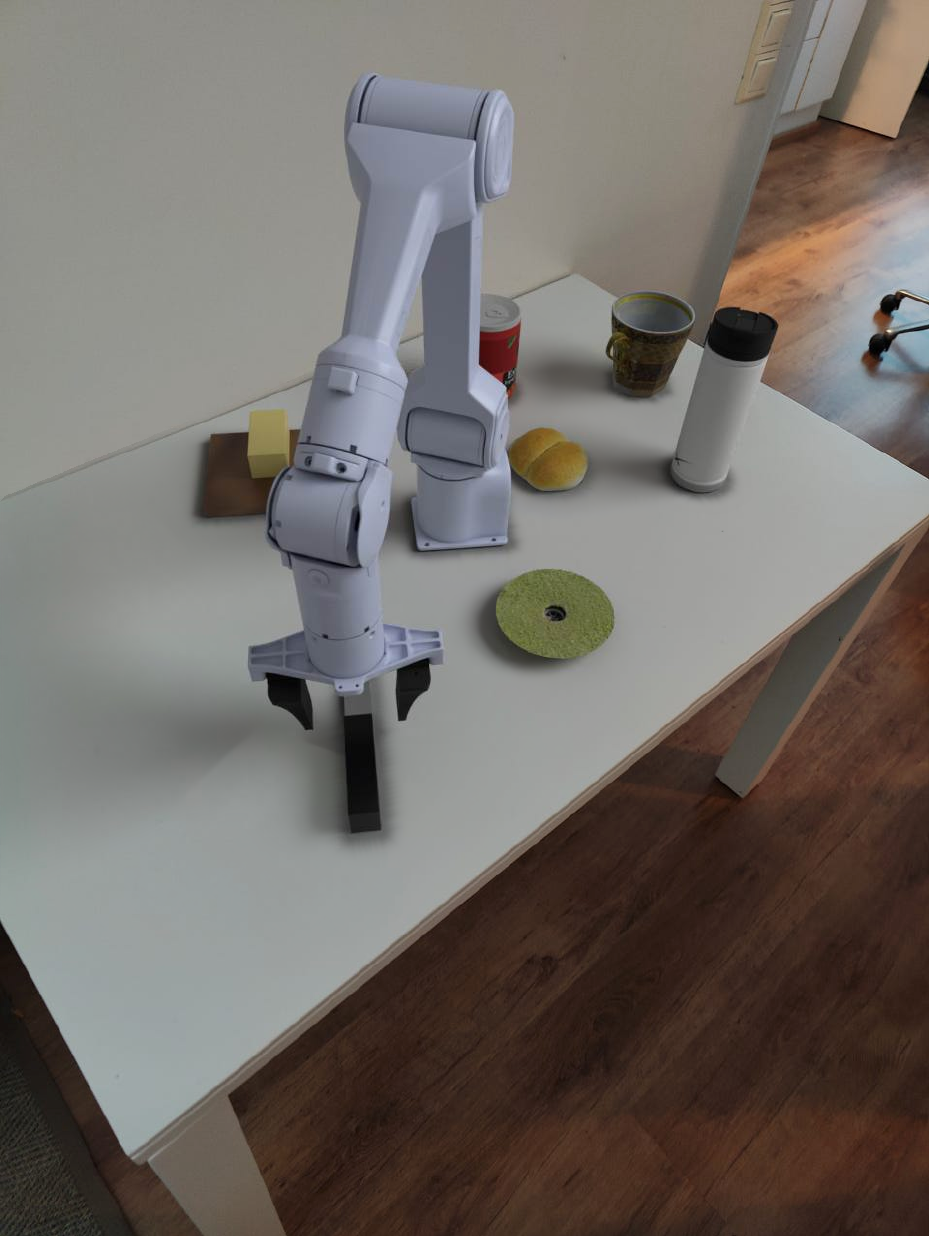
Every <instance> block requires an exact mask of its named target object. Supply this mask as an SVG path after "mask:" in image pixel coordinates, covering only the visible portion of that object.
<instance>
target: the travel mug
mask: <svg viewBox="0 0 929 1236" xmlns="http://www.w3.org/2000/svg"><path fill="white" fill-rule="evenodd" d="M778 330H779V323H778V321H777V320H776V319H775V318H774V317H773V316H771V315H769V314H767V313H764V312H762V311H758V312H756V311H752V310H748V309H741V306H726V307H721V308H719V309H717V310H716V311H715V312H714V314H713V318H712V322H711V324H710V328H709V332H708V336H707V337H706V340H705V345H704V348H703V352H702V354H701V358H700V362H699V365H698V369H697V372H696V376H695V380H694V383H693V386H692V391H691V394H690V397H689V401H688V405H687V407H686V412H685V415H684V419H683V423H682V426H681V429H680V433H679V436H678V440H677V444H676V446H675V451H674V454H673V457H672V461H671V464H670V469H669V470H670V471H669V472H670V473H669V474H670V476H671V478H672V479H673V481H674V482H675V483H676V484H677V485H679V486H680V487H682V488H683V489H685V490H688V491H691V492H695V493H711V492H714V491H717V490H719V489H720V488H721V487H722V486H723V485H724V484H725V482H726V479H727V476H728V473H729V471H730V468H731V465H732V462H733V459H734V456H735V453H736V451H737V448H738V445H739V443H740V439H741V436H742V433H743V431H744V428H745V425H746V422H747V419H748V417H749V414H750V411H751V408H752V405H753V402H754V400H755V397H756V394H757V391H758V388H759V385H760V384H761V383H760V382H761V380H762V376H763V374H764V371H765V368H766V365H767V362H768V359H769V356H770V354H771V349H772V345H773V343H774V341H775V338H776V336H777V332H778Z"/></svg>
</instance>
